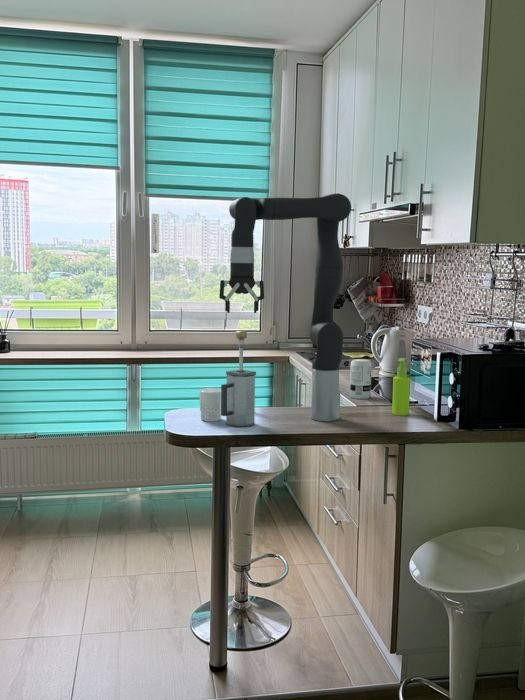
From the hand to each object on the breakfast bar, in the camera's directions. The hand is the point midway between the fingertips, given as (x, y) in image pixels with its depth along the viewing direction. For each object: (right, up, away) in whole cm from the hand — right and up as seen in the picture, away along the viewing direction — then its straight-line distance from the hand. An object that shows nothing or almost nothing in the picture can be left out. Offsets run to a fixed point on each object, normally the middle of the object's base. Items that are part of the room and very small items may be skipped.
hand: (241, 312), depth 214 cm
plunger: (0, -26, +3) cm, 26 cm away
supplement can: (+46, -31, +52) cm, 76 cm away
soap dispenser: (+56, -35, +23) cm, 69 cm away
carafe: (-1, -36, +4) cm, 37 cm away
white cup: (-11, -36, +11) cm, 39 cm away
